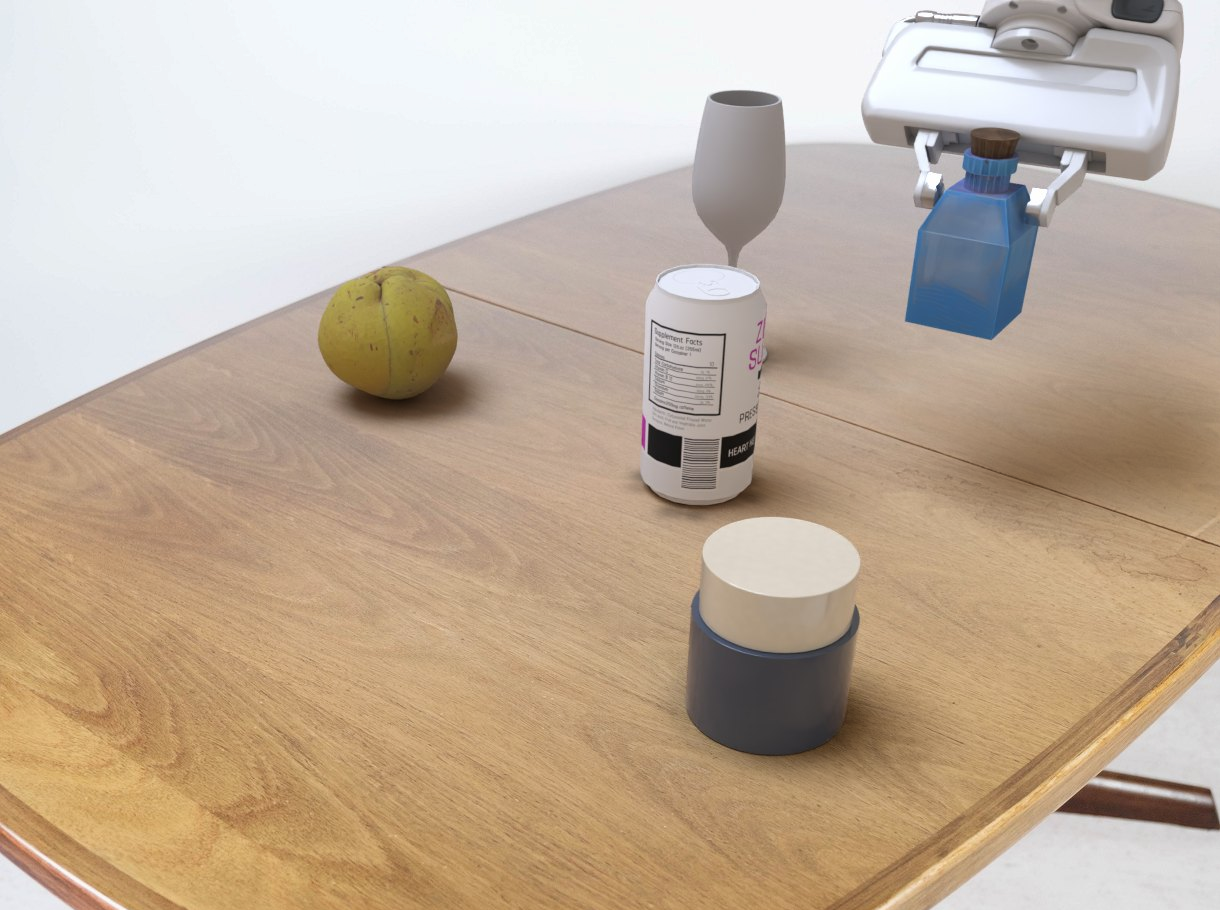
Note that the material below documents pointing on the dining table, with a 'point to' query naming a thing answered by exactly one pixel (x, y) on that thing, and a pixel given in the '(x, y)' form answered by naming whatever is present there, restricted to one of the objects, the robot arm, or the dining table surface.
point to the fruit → (389, 332)
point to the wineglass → (739, 167)
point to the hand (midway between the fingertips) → (979, 213)
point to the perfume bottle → (975, 245)
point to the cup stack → (773, 635)
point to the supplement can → (701, 382)
